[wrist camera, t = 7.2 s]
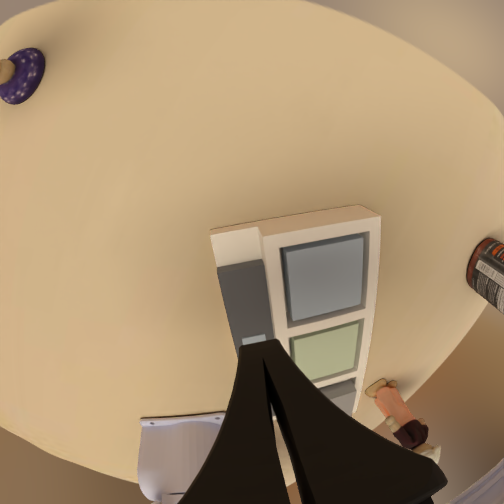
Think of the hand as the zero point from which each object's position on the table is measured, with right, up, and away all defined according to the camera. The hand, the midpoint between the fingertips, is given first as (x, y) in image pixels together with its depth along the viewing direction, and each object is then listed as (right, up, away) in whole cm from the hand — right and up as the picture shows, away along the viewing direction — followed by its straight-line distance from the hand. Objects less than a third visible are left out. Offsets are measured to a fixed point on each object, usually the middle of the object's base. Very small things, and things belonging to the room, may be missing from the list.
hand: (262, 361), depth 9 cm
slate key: (+4, +3, +8) cm, 10 cm away
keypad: (+3, -3, +12) cm, 13 cm away
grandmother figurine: (+15, -12, +18) cm, 26 cm away
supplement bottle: (+24, +3, +13) cm, 27 cm away
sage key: (+5, -3, +11) cm, 12 cm away
